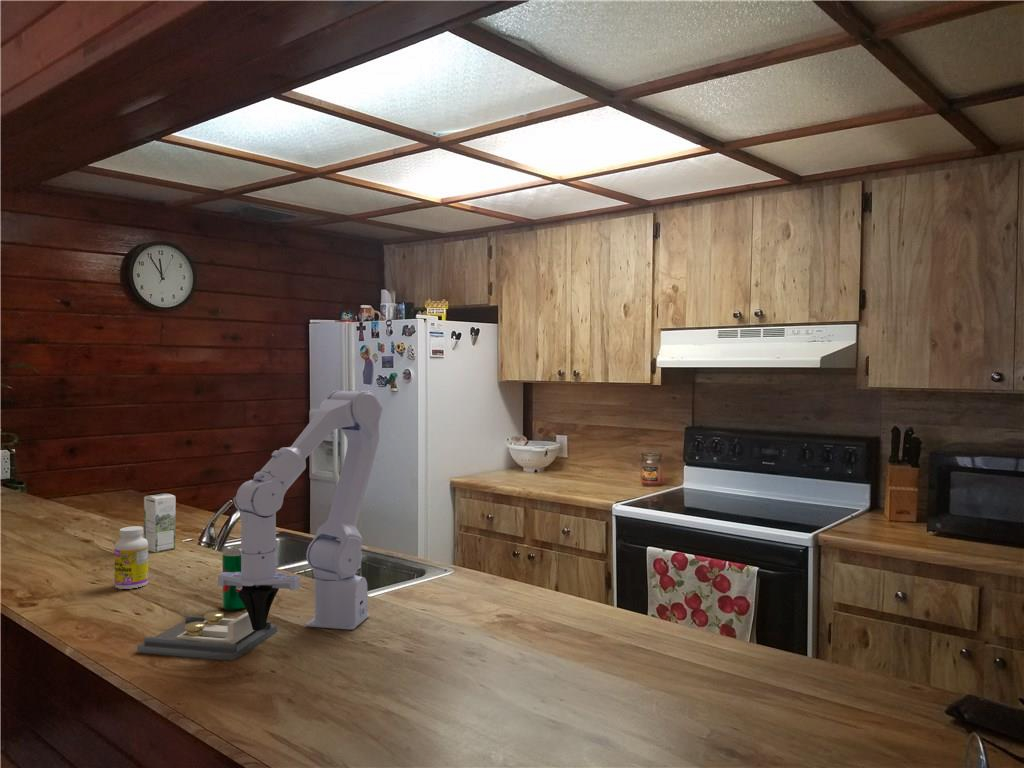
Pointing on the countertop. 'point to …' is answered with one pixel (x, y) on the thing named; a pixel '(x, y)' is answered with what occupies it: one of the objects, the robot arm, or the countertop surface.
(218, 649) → the boss plate
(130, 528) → the supplement bottle
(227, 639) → the panel
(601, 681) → the countertop surface
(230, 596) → the soda can
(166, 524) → the syrup box
